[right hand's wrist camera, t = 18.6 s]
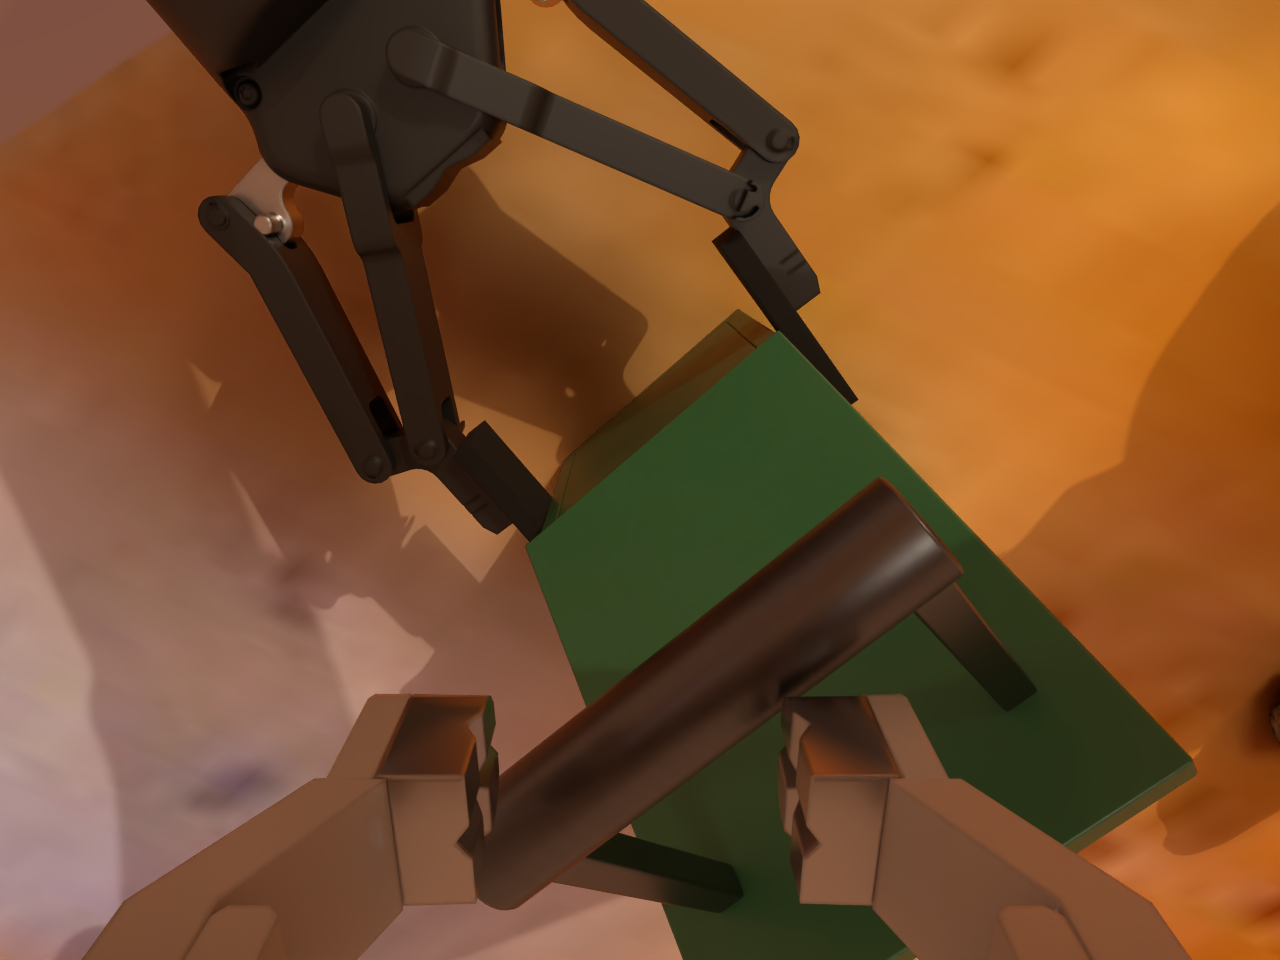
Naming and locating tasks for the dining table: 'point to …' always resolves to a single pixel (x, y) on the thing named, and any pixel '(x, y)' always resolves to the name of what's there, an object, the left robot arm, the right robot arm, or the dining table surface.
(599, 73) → the dining table surface
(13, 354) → the dining table surface
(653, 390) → the chest
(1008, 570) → the lid
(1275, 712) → the rock
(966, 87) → the dining table surface
